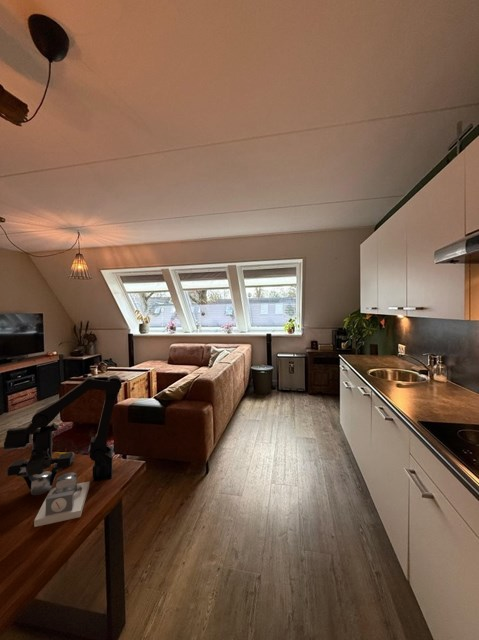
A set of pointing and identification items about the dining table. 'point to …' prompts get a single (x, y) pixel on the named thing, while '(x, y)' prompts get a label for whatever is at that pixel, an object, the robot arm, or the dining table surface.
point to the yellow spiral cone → (62, 453)
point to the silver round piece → (66, 483)
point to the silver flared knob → (41, 483)
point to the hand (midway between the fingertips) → (41, 486)
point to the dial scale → (62, 505)
